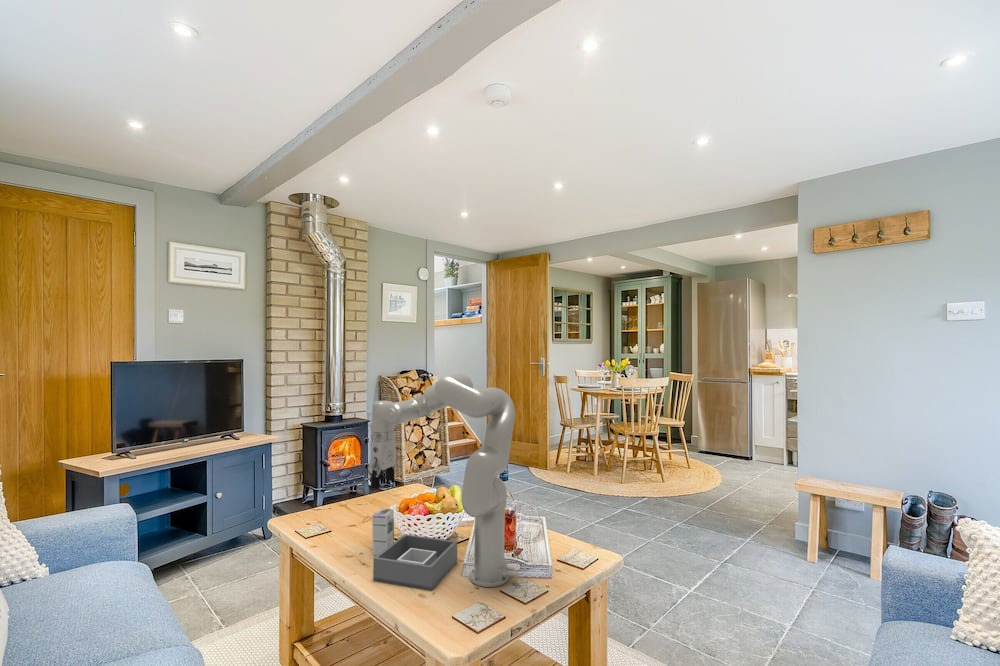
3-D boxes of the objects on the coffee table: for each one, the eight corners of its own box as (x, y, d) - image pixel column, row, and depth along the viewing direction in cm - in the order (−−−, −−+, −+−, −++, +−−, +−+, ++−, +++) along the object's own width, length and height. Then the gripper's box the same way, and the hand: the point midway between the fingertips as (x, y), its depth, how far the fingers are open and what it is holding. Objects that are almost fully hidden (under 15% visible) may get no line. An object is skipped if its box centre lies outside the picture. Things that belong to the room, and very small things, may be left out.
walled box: (457, 562, 166) (457, 541, 166) (431, 590, 147) (431, 567, 147) (404, 554, 172) (404, 534, 172) (373, 580, 153) (373, 558, 153)
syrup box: (387, 556, 170) (387, 514, 170) (371, 555, 171) (372, 513, 172) (394, 549, 176) (394, 509, 176) (379, 548, 177) (379, 508, 177)
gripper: (379, 441, 165) (379, 492, 164) (404, 432, 181) (404, 478, 181) (360, 439, 167) (359, 490, 167) (386, 430, 183) (386, 476, 183)
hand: (382, 483), depth 174 cm, fingers open, 9 cm apart
